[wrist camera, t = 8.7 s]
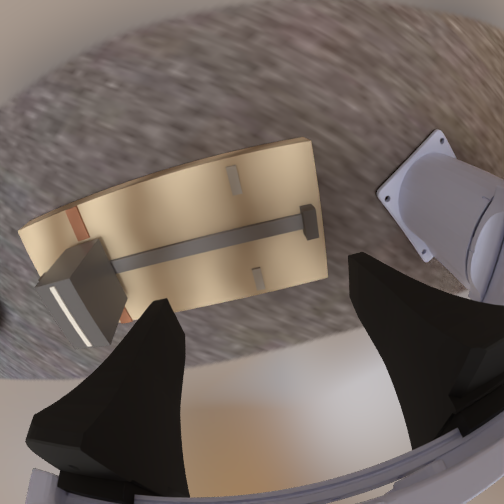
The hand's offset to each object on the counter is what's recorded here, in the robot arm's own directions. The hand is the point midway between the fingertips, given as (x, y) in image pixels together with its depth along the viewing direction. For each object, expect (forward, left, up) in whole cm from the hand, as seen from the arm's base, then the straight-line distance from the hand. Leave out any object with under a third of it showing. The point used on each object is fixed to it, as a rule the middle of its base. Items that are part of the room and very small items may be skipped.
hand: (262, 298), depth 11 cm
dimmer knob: (+6, +10, -8) cm, 14 cm away
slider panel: (+3, +6, -10) cm, 12 cm away
